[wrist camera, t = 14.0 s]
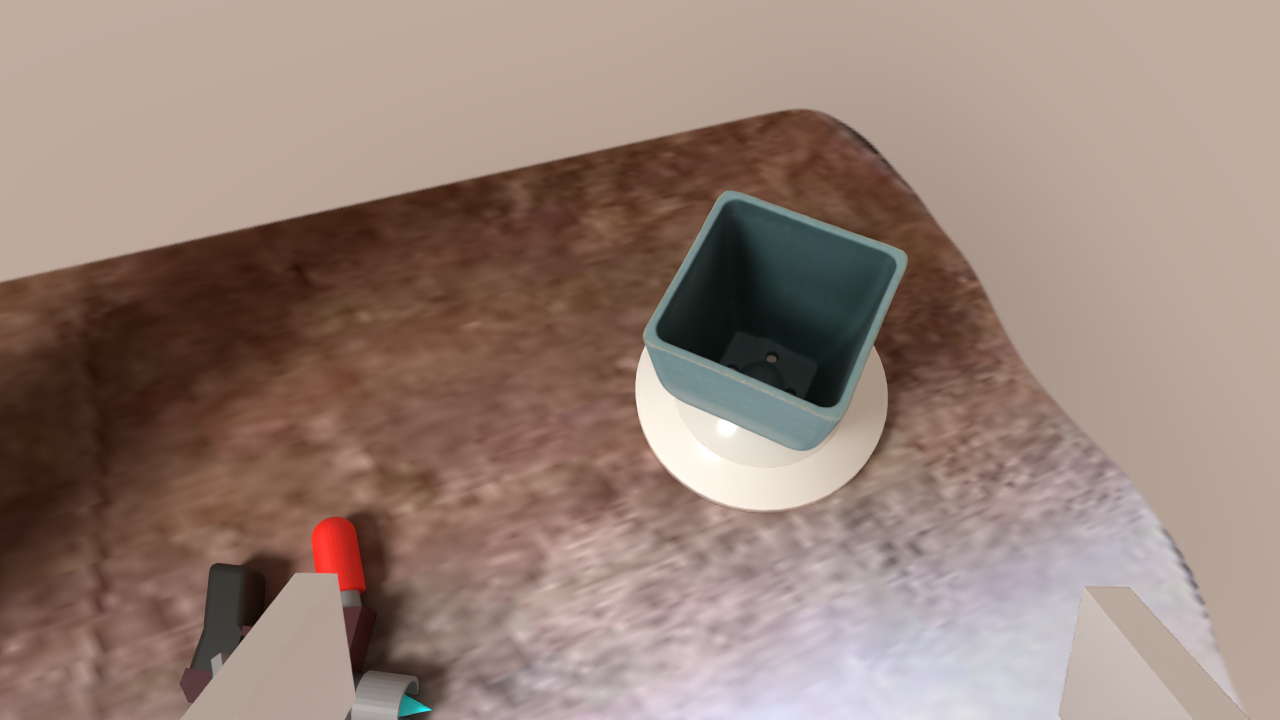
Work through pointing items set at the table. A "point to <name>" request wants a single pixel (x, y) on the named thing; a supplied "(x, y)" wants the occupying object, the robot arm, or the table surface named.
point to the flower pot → (772, 319)
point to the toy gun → (241, 606)
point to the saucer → (758, 447)
